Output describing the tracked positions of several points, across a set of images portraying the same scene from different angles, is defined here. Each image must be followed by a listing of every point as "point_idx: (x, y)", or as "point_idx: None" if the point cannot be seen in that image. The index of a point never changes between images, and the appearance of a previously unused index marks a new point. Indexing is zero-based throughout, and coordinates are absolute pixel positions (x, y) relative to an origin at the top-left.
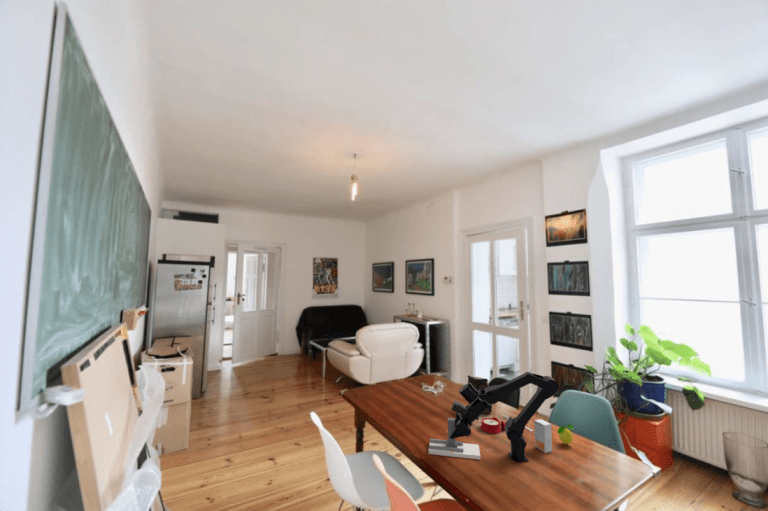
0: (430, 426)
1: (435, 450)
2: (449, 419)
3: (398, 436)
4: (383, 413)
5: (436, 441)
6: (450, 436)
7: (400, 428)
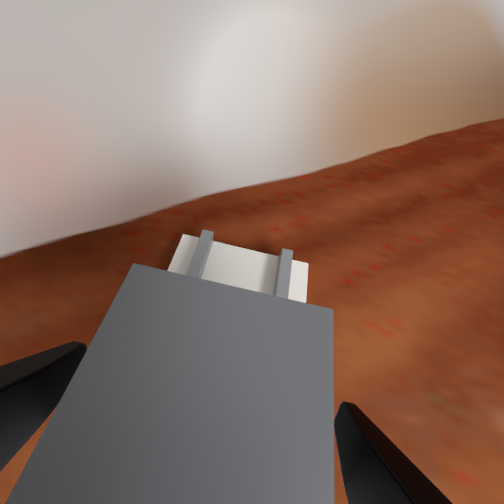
0: (501, 308)
1: (176, 268)
2: (194, 324)
3: (337, 164)
4: (501, 152)
5: (274, 289)
6: (55, 348)
7: (408, 180)
